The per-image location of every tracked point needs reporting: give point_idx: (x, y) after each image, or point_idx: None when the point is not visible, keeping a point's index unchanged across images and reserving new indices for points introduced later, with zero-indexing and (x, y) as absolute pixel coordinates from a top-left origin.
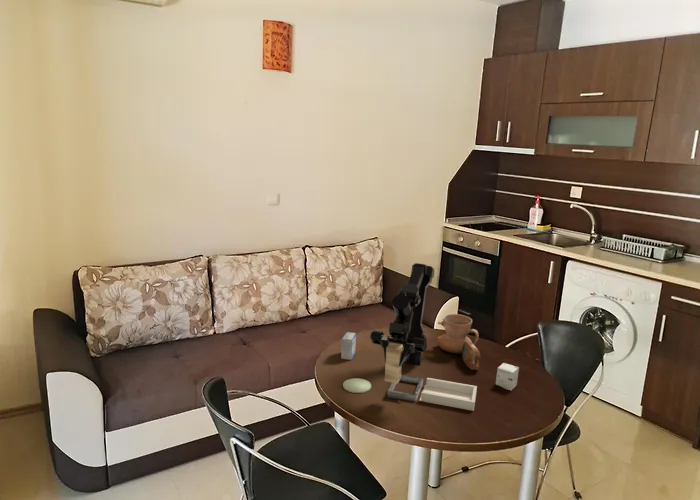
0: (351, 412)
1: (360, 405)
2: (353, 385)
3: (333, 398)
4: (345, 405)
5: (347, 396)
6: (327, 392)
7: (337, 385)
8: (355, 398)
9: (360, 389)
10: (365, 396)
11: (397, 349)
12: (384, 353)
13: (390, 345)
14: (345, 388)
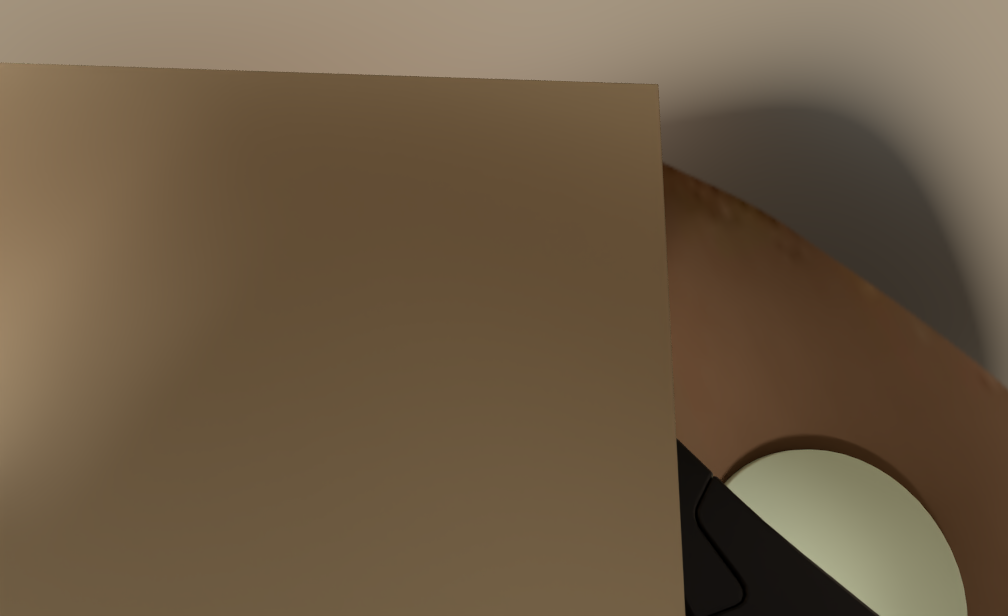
0: (690, 180)
1: (669, 283)
2: (854, 558)
3: (890, 307)
4: (765, 246)
5: (812, 374)
6: (981, 377)
7: (981, 530)
8: (743, 366)
9: (765, 502)
10: (684, 426)
11: (83, 70)
12: (687, 456)
13: (532, 458)
14: (889, 479)
